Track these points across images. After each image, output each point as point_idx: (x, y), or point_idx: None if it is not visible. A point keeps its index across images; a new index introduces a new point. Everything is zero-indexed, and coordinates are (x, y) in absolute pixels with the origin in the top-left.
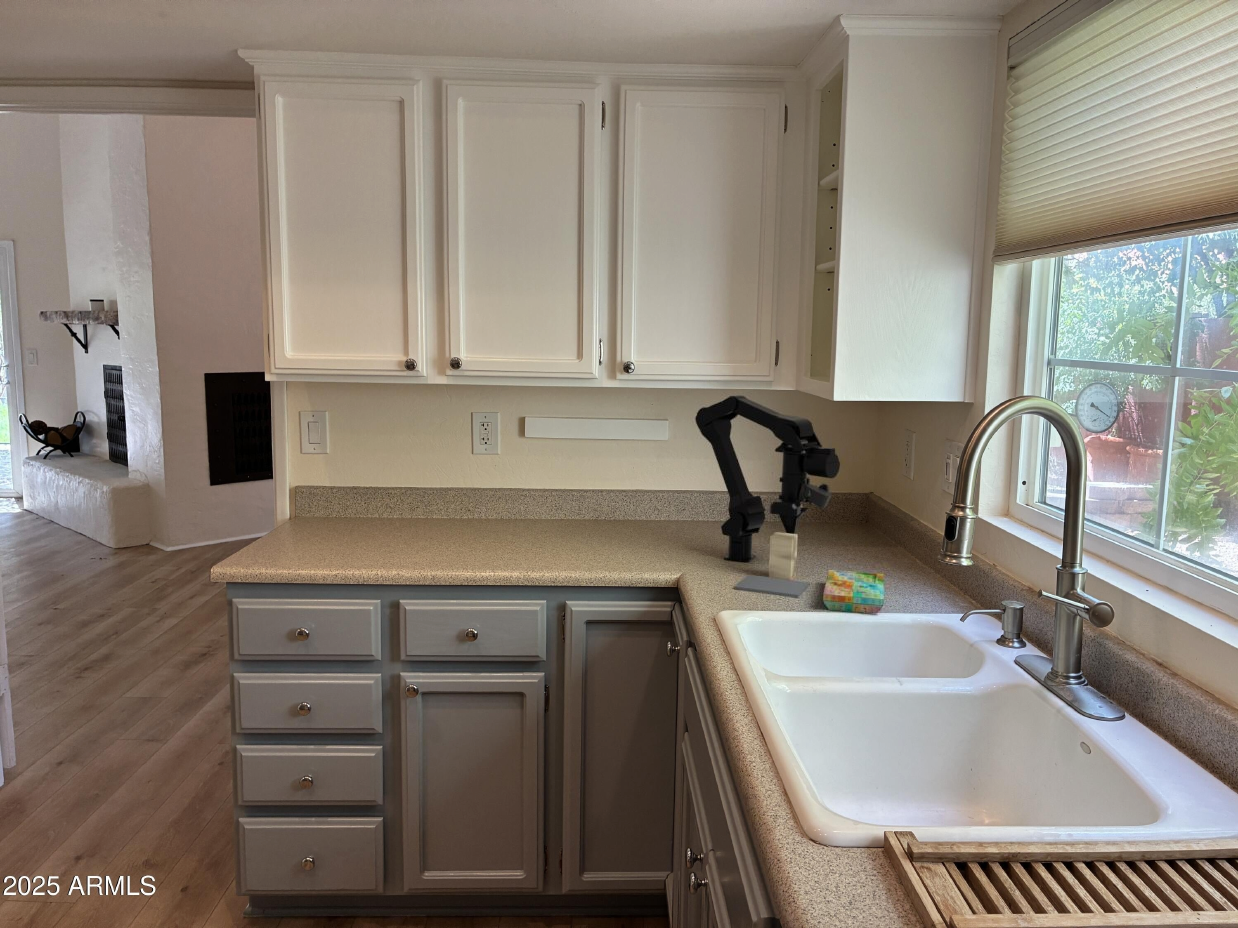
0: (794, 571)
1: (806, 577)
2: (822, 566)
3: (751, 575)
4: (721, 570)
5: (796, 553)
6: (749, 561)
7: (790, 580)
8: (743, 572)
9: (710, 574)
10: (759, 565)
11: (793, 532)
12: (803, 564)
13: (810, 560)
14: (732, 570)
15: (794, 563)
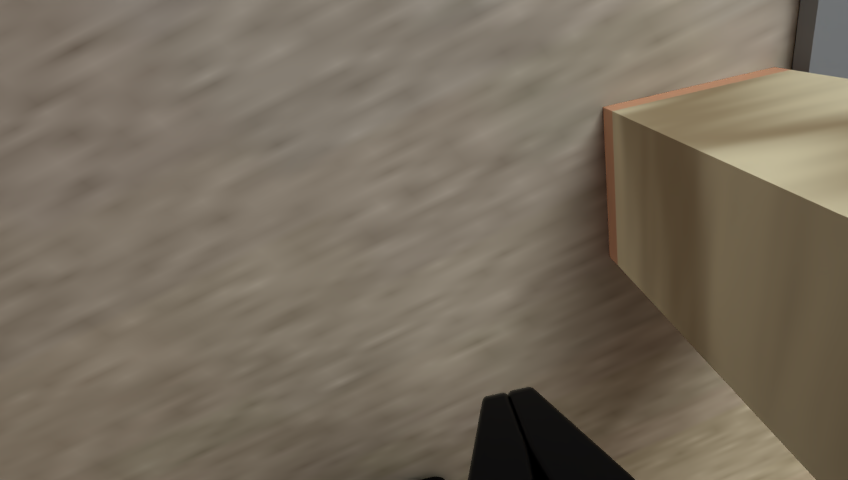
0: (683, 106)
1: (573, 25)
2: (121, 83)
3: None
4: (676, 476)
5: (741, 161)
6: (430, 478)
7: (824, 53)
8: (662, 394)
9: (777, 470)
10: (454, 412)
11: (599, 458)
12: (202, 235)
13: (37, 253)
14: (649, 447)
15: (748, 119)
